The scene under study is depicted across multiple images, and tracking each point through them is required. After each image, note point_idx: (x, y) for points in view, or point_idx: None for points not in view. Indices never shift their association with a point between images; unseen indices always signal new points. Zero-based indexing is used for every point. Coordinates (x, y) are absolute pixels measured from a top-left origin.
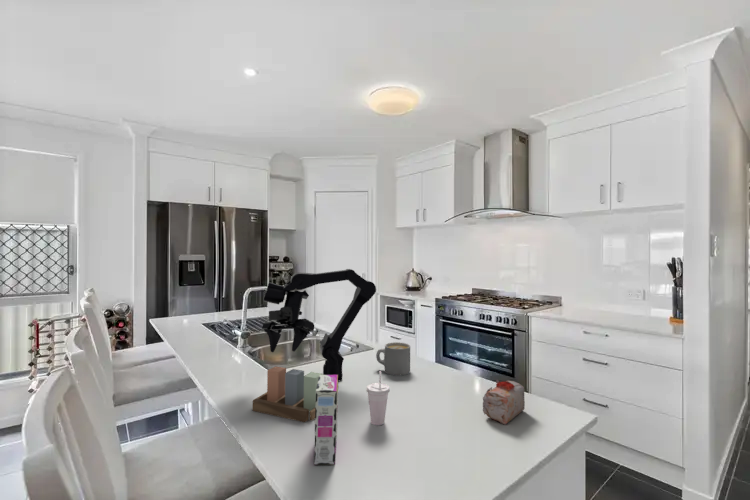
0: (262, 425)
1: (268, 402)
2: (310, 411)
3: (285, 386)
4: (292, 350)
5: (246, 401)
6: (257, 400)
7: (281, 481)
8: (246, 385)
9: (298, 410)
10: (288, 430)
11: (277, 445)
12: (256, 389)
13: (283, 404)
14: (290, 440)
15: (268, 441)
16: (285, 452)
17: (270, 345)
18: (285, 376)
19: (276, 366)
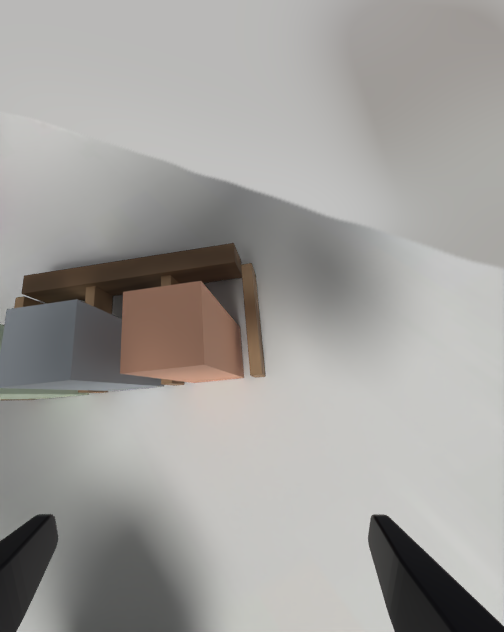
0: (151, 218)
1: (171, 261)
2: (22, 297)
3: (120, 319)
4: (42, 514)
5: (320, 300)
6: (218, 252)
7: (4, 118)
8: (481, 428)
9: (49, 272)
10: (74, 235)
11: (64, 179)
12: (390, 412)
13: (114, 276)
14: (48, 207)
15: (91, 179)
16: (36, 172)
17: (442, 577)
18: (89, 305)
19: (197, 365)
